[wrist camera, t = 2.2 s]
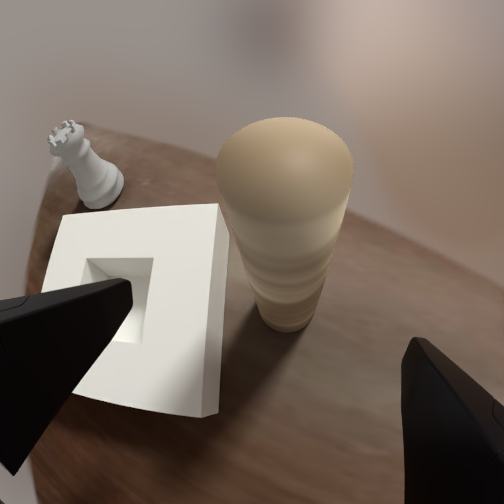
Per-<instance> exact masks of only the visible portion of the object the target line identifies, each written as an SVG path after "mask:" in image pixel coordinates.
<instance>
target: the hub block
mask: <svg viewBox="0 0 504 504" xmlns="http://www.w3.org/2000/svg"><path fill="white" fill-rule="evenodd" d="M228 248H229V233H228V230H227V227H226V224H225V221H224V219H223V216H222V213H221V210H220V207H219V204H199V205H180V206H164V207H150V208H136V209H124V210H112V211H101V212H90V213H80V214H70V215H63V218H62V221H61V224H60V227H59V230H58V233H57V237H56V240H55V243H54V246H53V250H52V253H51V257H50V260H49V264H48V268H47V271H46V275H45V279H44V284H43V288H42V292H41V293H43V292H48V291H53V290H58V289H63V288H68V287H73V286H78V285H84V284H89V283H94V282H99V281H104V280H109V279H114V278H124V279H128V280H130V282H131V284H132V294H133V307H132V309H131V311H130V312H129V314H128V315H127V317H126V319H125V320H124V322H123V323H122V325H121V326H120V328H119V330H118V331H117V333H116V334H115V336H114V337H113V339H112V340H111V342H110V343H109V345H108V346H107V347H106V348H105V350H104V351H103V352H102V354H101V355H100V356H99V357H98V359H97V360H96V361H95V363H94V364H93V365H92V367H91V368H90V369H89V370H88V372H87V373H86V374H85V376H84V377H83V378H82V380H81V381H80V382H79V384H78V385H77V386H76V388H75V389H74V391H73V392H72V393H75V394H78V395H82V396H86V397H89V398H93V399H97V400H101V401H105V402H110V403H114V404H119V405H123V406H128V407H133V408H138V409H144V410H149V411H155V412H161V413H168V414H174V415H182V416H189V417H198V418H202V417H206V416H210V415H213V414H217V413H218V411H219V390H220V371H221V353H222V336H223V319H224V304H225V289H226V275H227V262H228Z"/></svg>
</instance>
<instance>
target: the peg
mask: <svg viewBox="0 0 504 504" xmlns="http://www.w3.org/2000/svg"><path fill="white" fill-rule="evenodd" d="M215 176H216V180H217V184H218V187H219V190H220V193H221V196H222V199H223V202H224V205H225V209H226V212H227V215H228V218H229V221H230V224H231V227H232V230H233V233H234V236H235V239H236V242H237V245H238V249H239V252H240V255H241V258H242V261H243V264H244V267H245V270H246V273H247V276H248V279H249V282H250V285H251V288H252V291H253V294H254V297H255V300H256V303H257V306H258V309H259V312H260V315H261V317H262V319H263V321H264V322H265V323H266V324H267V325H268V326H269V327H271V328H272V329H274V330H276V331H279V332H295V331H298V330H300V329H302V328H303V327H305V326H306V325H307V324H308V323H309V322H310V321H311V319H312V317H313V315H314V312H315V309H316V306H317V303H318V300H319V297H320V294H321V291H322V288H323V285H324V282H325V278H326V275H327V272H328V269H329V265H330V262H331V259H332V255H333V252H334V248H335V245H336V242H337V238H338V234H339V231H340V227H341V224H342V220H343V216H344V213H345V209H346V205H347V201H348V197H349V193H350V189H351V185H352V181H353V177H354V163H353V158H352V155H351V153H350V151H349V149H348V147H347V146H346V145H345V143H344V142H343V141H342V140H341V139H340V137H338V136H337V135H336V134H335V133H334V132H332V131H331V130H329V129H328V128H326V127H324V126H322V125H320V124H317V123H315V122H312V121H308V120H304V119H299V118H290V117H279V118H271V119H266V120H261V121H258V122H255V123H252V124H250V125H248V126H246V127H244V128H242V129H240V130H239V131H238V132H236V133H235V134H233V135H232V136H231V137H230V138H229V139H228V140H227V141H226V142H225V144H224V145H223V146H222V148H221V150H220V151H219V154H218V156H217V159H216V163H215Z"/></svg>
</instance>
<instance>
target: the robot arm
mask: <svg viewBox="0 0 504 504" xmlns="http://www.w3.org/2000/svg"><path fill="white" fill-rule="evenodd" d="M132 307H133V294H132V284H131V282H130V280H128V279H124V278H114V279H109V280H104V281H99V282H94V283H89V284H84V285H78V286H73V287H68V288H63V289H58V290H53V291H48V292H43V293H38V294H33V295H31V296H30V295H27V296H22V297H17V298H11V299H5V300H0V464H1V465H2V466H3V467H4V468H5V469H6V470H7V471H8V472H9V473H10V474H11V475H12V476H14V475H15V474H16V473H17V472H18V470H19V468H20V467H21V465H22V464H23V462H24V461H25V459H26V458H27V456H28V455H29V453H30V452H31V450H32V449H33V447H34V446H35V444H36V443H37V441H38V440H39V438H40V437H41V436H42V434H43V433H44V431H45V429H46V428H47V427H48V425H49V424H50V422H51V421H52V420H53V418H54V417H55V415H56V414H57V413H58V411H59V410H60V408H61V407H62V406H63V404H64V403H65V401H66V400H67V399H68V397H69V396H70V395H71V393H72V392H73V391H74V389H75V388H76V386H77V385H78V384H79V382H80V381H81V380H82V378H83V377H84V376H85V374H86V373H87V372H88V370H89V369H90V368H91V367H92V365H93V364H94V363H95V361H96V360H97V359H98V357H99V356H100V355H101V354H102V352H103V351H104V350H105V348H106V347H107V346H108V345H109V343H110V342H111V340H112V339H113V337H114V336H115V334H116V333H117V331H118V330H119V328H120V326H121V325H122V323H123V322H124V320H125V319H126V317H127V315H128V314H129V312H130V311H131V309H132ZM401 414H402V426H403V442H404V470H405V499H404V504H504V406H503V405H502V404H501V403H500V402H498V401H497V400H496V399H494V397H493V396H492V395H491V394H489V393H488V392H487V391H486V390H485V389H484V388H483V387H482V386H480V385H479V384H478V383H477V382H476V381H475V380H474V379H472V378H471V377H470V376H469V375H468V374H467V373H466V372H464V371H463V370H462V369H461V368H460V367H459V366H457V365H456V364H455V363H454V362H453V361H452V360H450V359H449V358H448V357H447V356H446V355H445V354H443V353H442V352H441V351H440V350H439V349H437V348H436V347H435V346H434V345H433V344H432V343H430V342H429V341H428V340H427V339H425V338H420V337H413V338H412V339H411V340H410V343H409V345H408V347H407V350H406V352H405V354H404V357H403V359H402V364H401ZM0 504H4V503H3V502H2V501H1V500H0Z"/></svg>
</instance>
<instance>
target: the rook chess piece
mask: <svg viewBox="0 0 504 504" xmlns="http://www.w3.org/2000/svg"><path fill="white" fill-rule="evenodd" d="M68 123H69V124H68ZM68 123H67V121H64V122H62V123H61V126H62V127H63V128H62V129H60V130H58V129H57V127H55V128H54V130H53V131H52V132H53V134H54V137H53V136H52V135H50V136H49V137H48V141H49V142H48V143H49V144H50V153H51V155H54V156H60V157H61V158H62V159H61V161H62V164H63V165H65V166H67V167H68V168H69V169H70V170H71V172H72V174H73V176H74V177H75V179H76V181H77V182H76V186H77V188H78V189H77V192H78V194H79V197H80V199H81V200H82V201H83V202H84V205H85V206H86V207H88V208H89V209H102V208H104V207H107V206H109V205H110V204H111V203H113V202H114V201H115V200H116V199H117V197H118V196H119V195H120V193H121V190H122V188H123V184H124V177H123V175H122V173H121V172H120V171H119V170H118V169H117V167H116V166H115V165H114V164H111V163H109V162H107V161H105V160H102V159H100V158H99V157H98V156H97V155H96V154H95V153H94V152H93V151H92V149H91V148H90V142H89V140H86V139H84V138H83V133H84V128H83V126H82V125H78V124H75V122H74V121H73V120H69V122H68Z"/></svg>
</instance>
